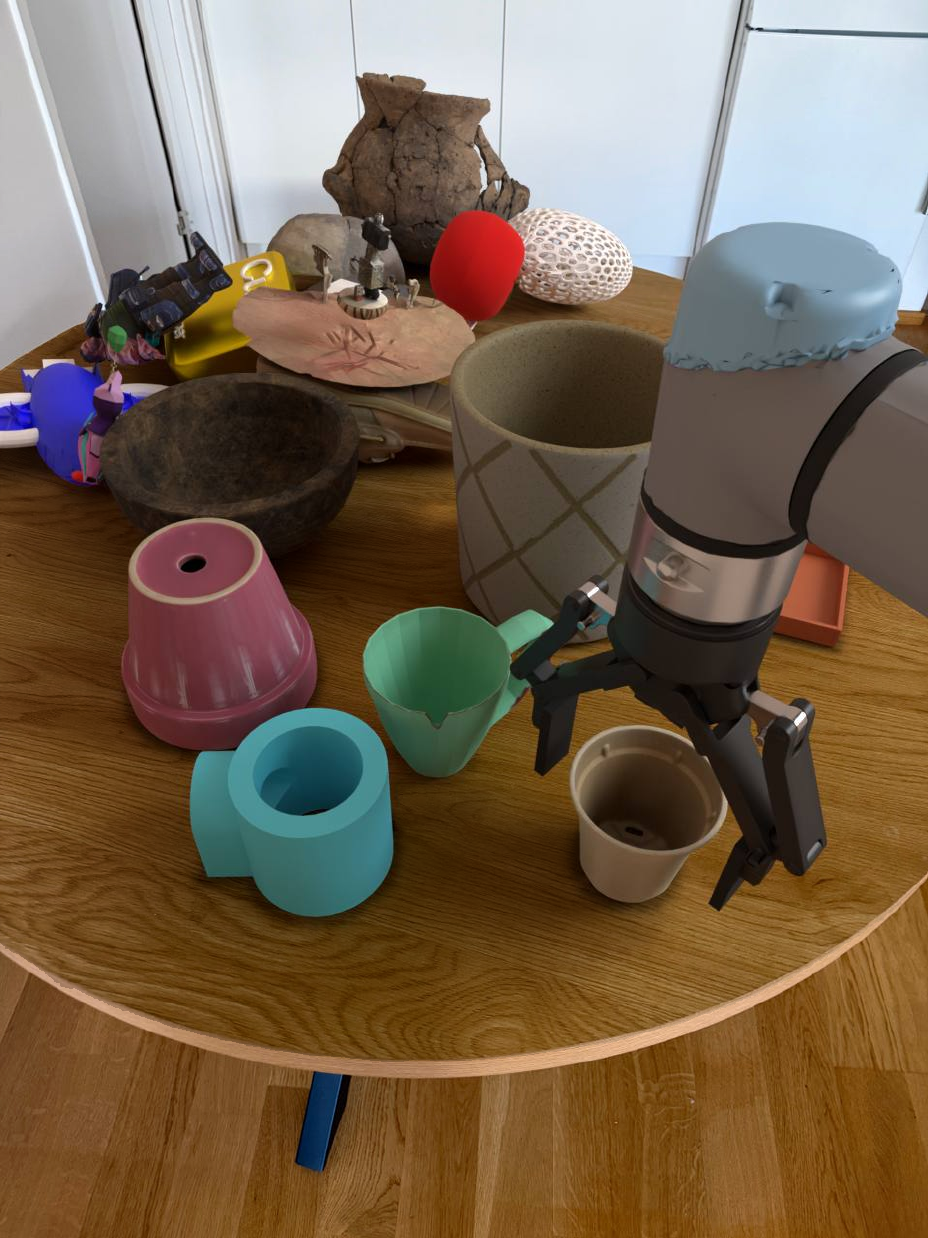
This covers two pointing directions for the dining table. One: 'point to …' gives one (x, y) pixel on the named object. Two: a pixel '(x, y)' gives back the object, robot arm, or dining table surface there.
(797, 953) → the dining table surface
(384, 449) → the boat shoe
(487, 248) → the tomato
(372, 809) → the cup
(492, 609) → the planter
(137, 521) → the bowl
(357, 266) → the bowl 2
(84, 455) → the toy
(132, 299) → the action figure
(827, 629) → the pot tray
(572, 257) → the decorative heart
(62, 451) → the toy airplane
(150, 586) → the flower pot
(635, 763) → the flower pot
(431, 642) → the mug
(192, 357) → the element tile
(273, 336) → the sculpture
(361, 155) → the clay pot
